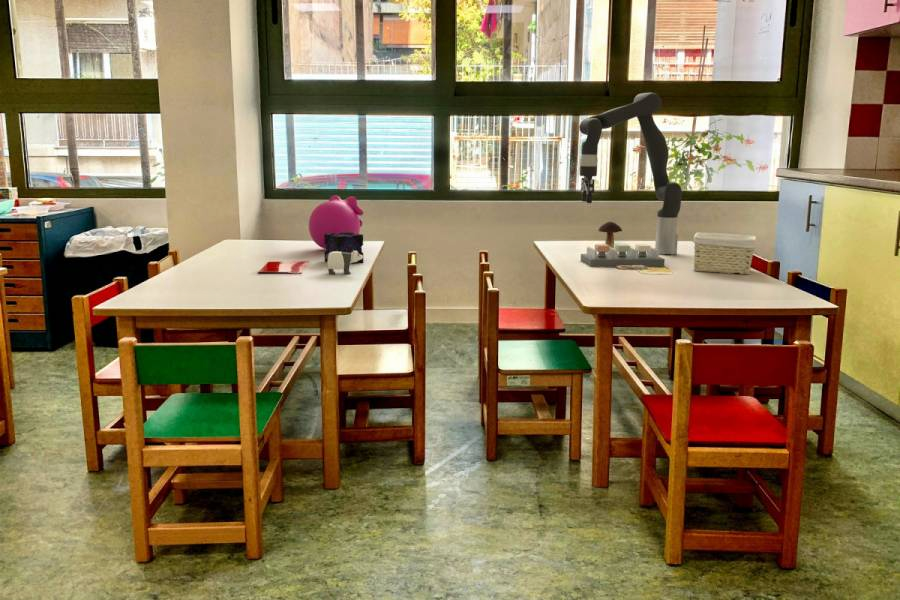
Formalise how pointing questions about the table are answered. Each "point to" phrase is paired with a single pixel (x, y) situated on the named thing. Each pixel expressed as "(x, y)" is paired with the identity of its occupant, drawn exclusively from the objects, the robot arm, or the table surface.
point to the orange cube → (602, 249)
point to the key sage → (622, 249)
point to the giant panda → (342, 260)
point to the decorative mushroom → (610, 232)
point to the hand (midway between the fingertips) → (586, 202)
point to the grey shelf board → (622, 258)
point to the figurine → (334, 218)
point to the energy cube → (343, 243)
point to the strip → (631, 267)
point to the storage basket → (723, 252)
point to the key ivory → (642, 249)
